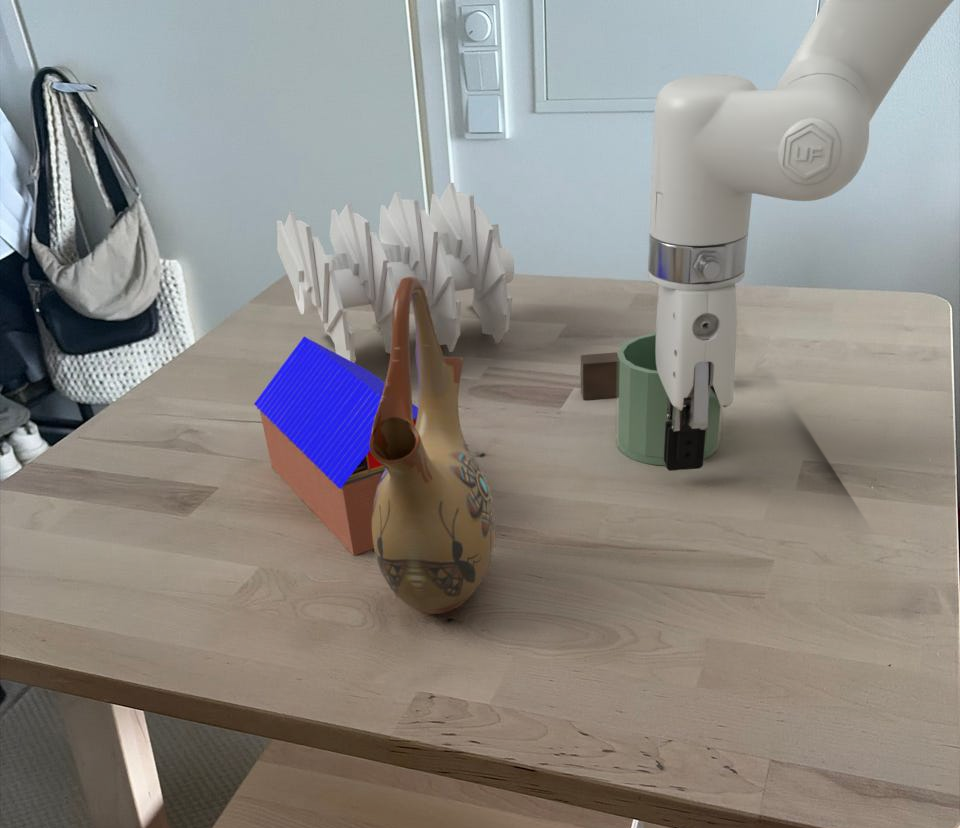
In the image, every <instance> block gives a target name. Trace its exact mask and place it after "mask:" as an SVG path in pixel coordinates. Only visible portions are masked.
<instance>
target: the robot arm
mask: <svg viewBox="0 0 960 828" xmlns="http://www.w3.org/2000/svg"><path fill="white" fill-rule="evenodd" d="M953 2H955V0H825V1H824V3H823V5H822V6H821V8H820V10H819V12H818V13H817V15H816V17H815V19H814V21H813V22H812V24H811V26H810V27H809V29H808V31H807V32H806V35H805V36H804V38H803V39H802V42H801V43H800V45H799V47H798V49H797V50H796V52H795V53H794V56H792V59H791V61H790V62H789V64H788V66H787V68H786V69H785V71H784V73H783V74H782V76H781V78H780V80H779V81H778V83H777V85H776V86H775V89H774V88H773V89H764V90H763V89H762V90H758V88H757V86H756V85H755V84H754V83H753V82H752V81H751V80H749V79H746V78H744V77H741V76H736V75H727V74H703V75H701V74H700V75H695V76H694V75H692V76H686V77H681V78H677V79H675V80H672V81H670V82H668V83H666V84H664V86H663V87H662V88H661V89H660V90H659V92H658V93H657V96H656V99H655V102H654V109H653V111H654V112H653V126H652V127H653V130H652V156H651V158H652V159H651V184H650V209H649V234H648V235H649V236H648V261H647V278H648V280H649V281H650V282H652V283H653V284H655V285H657V287H658V288H657V289H658V294H657V306H656V307H657V308H656V321H655V322H656V323H655V333H656V346H655V354H656V367H657V371H658V374H659V377H660V379H661V382H662V384H663V386H664V389H665V391H666V393H667V419H668V420H672V421H669V422H666V423H665V442H664V462H665V464H666V466H665V467H666V469H667V470H668V471H671V472H672V471H683V470H685V471H686V470H697V469H701V468H703V465H704V459H703V458H704V445H705V433H706V428H707V427H708V407H709V399H710V391H711V390H712V392H713V393H714V395H715V397H716V399H717V401H718V403H719V405H720V406H723V408H729V407H730V406H731V405H732V403H733V401H734V391H735V374H736V373H735V371H736V356H737V355H736V352H737V325H738V324H737V322H738V321H737V318H738V317H737V316H738V315H737V311H738V310H737V309H738V307H737V291H736V290H737V288H736V284H739V282H741V281H742V280H743V279H744V277H745V272H746V260H747V249H748V239H749V231H750V230H749V229H750V220H751V219H750V218H751V210H752V209H751V208H752V199H753V198H752V197H753V194H754V195H760V196H765V197H769V198H770V197H771V198H774V199H780V200H786V201H794V202H813V201H819V200H822V199H823V200H824V199H826V198H828V197H831V196H833V195H835V194H837V193H838V192H840V191H841V190H842V189H844V188H845V187H846V186H847V185H849V184H850V183H851V182H852V181H853V179H854V178H855V177H856V176H857V174H858V173H859V171H860V169H861V167H862V165H863V163H864V161H865V159H866V156H867V153H868V148H869V141H870V122H871V120H872V119H873V117H874V115H875V114H876V111H877V110H878V109H879V107H880V105H881V104H882V102H883V101H884V99H885V98H886V96H887V94H888V93H889V92H890V90H891V88H892V87H893V85H894V83H895V82H896V80H897V79H898V78H899V76H900V75H901V72H902V71H903V70H904V68H905V67H906V65H907V63H909V60H910V59H911V58H912V56H913V55H914V53H915V51H916V50H917V49H918V48H919V46H920V44H921V43H922V42H923V40H924V39H925V37H926V36H927V34H928V33H929V31H931V29H932V28H933V26H934V25H935V24H936V23H937V21H938V19H940V17H941V16H942V15H943V14H944V13H945V11H946V10H947V9H948V7H949V6H950V5H951V4H952V3H953Z"/></svg>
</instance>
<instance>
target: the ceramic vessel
mask: <svg viewBox="0 0 960 828" xmlns="http://www.w3.org/2000/svg"><path fill="white" fill-rule="evenodd" d="M411 306H412V312H413V317H414V324H415V350H414V351H415V352H414V359H415V363H416V370H417V380H418V381H417V382H418V403H417V404H418V405H417V407H418V414H417V420H416V425H415V426H414V422H413V412H412V404H413V396H412V378H411V377H412V376H411V356H410V355H411V354H410V314H411V313H410V312H411ZM463 365H464V358H463V357H457V356H444V354H443V350H442V347H441V345H439V342H438V339H437V336H436V331H435V329H434V325H433V321H432V317H431V312H430V308H429V304H428V300H427V296H426V292H425V289H424V286H423V284H422V283H421V281H420V280H419V279H418V278H416V277H406V278H403V279H401V281H400V283H399V286H398V288H397V291H396V294H395V297H394V302H393V310H392V342H391V353H390V354H389V362H388V368H387V373H386V377H385V381H384V383H385V386H384V390H383V393H382V397H381V400H380V403H379V407H378V410H377V413H376V416H375V419H374V422H373V426H372V432H371V437H370V442H369V447H370V451H371V453H372V455H373V456H374V458H375V459H376V460H377V461H379V462H380V463H381V464H382V465H384V466H385V467H384V468H385V470H384V472H383V474H382V476H381V478H380V481H379V484H378V486H377V490H376V493H375V498H374V503H373V510H372V538H373V545H374V549H373V550H374V555H375V558H376V561H377V564H378V567H379V569H380V572H381V575H382V576H383V578H384V580H385V582H386V583H387V585H388V587H389V588H390V590H391V591H392V592H393V594H394V595H395V596H397V598H398V599H399V600H400V601H401V602H403V603H404V604H405V605H407V606H408V607H410V608H411V609H414V610H415V611H418V612H421V613H424V614H429V615H441V614H442V615H443V614H446V613H449V612H452V611H454V610H455V609H457V608H459V607H460V606H461V605H463V604H464V603H465V602H466V601H467V600H469V599H470V597H471V596H473V594H474V593H475V592H476V590H477V589H478V587H479V586H480V584H481V583H482V581H483V579H484V577H485V576H486V573H487V571H488V569H489V566H490V563H491V559H492V555H493V551H494V546H495V538H496V537H495V536H496V513H495V512H496V511H495V505H494V500H493V496H492V492H491V488H490V485H489V483H488V479H487V478H486V475H485V473H484V471H483V469H482V467H481V466H480V465H479V463H478V461H477V460H476V458H475V457H474V455H473V454H472V452H471V451H470V449H469V446H467V445H468V444H467V443H466V441H465V438H464V435H463V431H462V427H461V421H460V415H459V390H460V383H461V378H462V377H461V376H462V372H463ZM466 444H467V445H466Z"/></svg>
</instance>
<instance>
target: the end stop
mask: <svg viewBox="0 0 960 828" xmlns="http://www.w3.org/2000/svg"><path fill="white" fill-rule="evenodd" d="M616 380H617V351H616V352H615V351H614V352H604V353H590V354H580V392H581V393H580V394H581V397H582V400H583V401H586V400H587V401H588V400H589V401H590V400H601V399H614V398H615V399H616Z"/></svg>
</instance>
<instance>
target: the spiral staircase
mask: <svg viewBox="0 0 960 828" xmlns="http://www.w3.org/2000/svg"><path fill="white" fill-rule="evenodd" d="M430 199H431V200H430V208H429V215H428V213H427V211H426V210H425V209H421V210H420V205H419V204H420V203H419V200H418V199H417V200H416V199H403V197H402V194H401V190H395V191H394V193H393V196H392V199H391V201H390V204H389V206H388V208H387V206H386V205H385V204H381V205H380V209H379V228H378V229H379V231H378V234H377V232H376V231H371V229H370V228H371V227H370V221H369V220H368V219H366V218H365V217H363V216H362V215H361V214H359V213H358V212H354V209H353V205H352V203H346V204H345V206H344V207H343V209H342V211H341V212H340V214H338V211H337V209H336V208H335V209H331V210H330V211H331V213H330V224H329V225H330V226H329V240H330V243H331V245H332V248H333V250H334V253H329V254H326V252H325V250H324V247H323V245H322V243H321V241H320V239H319V237H318V235H315V236H313V235H312V227H311V226H310V225H309V224H307V223H306V222H304V221H302V220H300V219H298V220H297V217H296V212H295V210H290V211H289V212H288V215H287V218H286V220H285V224H284V223H283V221H282V219H279V220H276V245H277V246H276V248H277V249H276V251H277V254H278V256H279V258H280V260H281V263H282V265H283V267H284V270H285V272H286V275H287V276H288V279H289V282H290V284H291V286H292V289H293V294H294V298H295V299H294V300H295V303H296V306H297V309H298V312H299V313H300V314H301V316H305V315H310V314H316V313H317V314H318V317H319V319H320V321H321V323H322V326H323V331H324V333H325V334H326V335H328V336H329V337H330V339H331V340H332V342H333V344H334V352H335V353H336V354H338V355H340V356H342V357H344V358H345V359H347V360H349V361H351V362H353V363H355V364H356V361H357V358H356V355H355V332H354V330H353V329H352V327H351V324H350V323H349V321H348V314H347V310H345V309H349V308H356V307H362V306H369V305H370V306H371V308H372V310H373V313H374V317H375V323H376V324H377V325H378V326H379V328H380V330H381V332H382V337H383V345H384V351H385V353H387V354H389V355H390V353H391V342H392V310H393V302H394V297H395V294H396V291H397V288H398V286H399V283H400V281H401V279H403V278H406V277H416V278H418V279H419V280H420V281H421V283H422V284H423V286H424V289H425V292H426V296H427V300H428V304H429V308H430V312H431V317H432V321H433V325H434V329H435V332H436V336H437V339H438V342H439V345H440V346H442V345H443V346H444V345H446V347H447V350H448V352H449V353H451V352H454V350H455V347H456V345H457V343H458V340H459V337H461V315H462V301H461V299H459V297H458V296H457V295H456V292H458V291H464V290H472V289H473V293H472V294H473V295H472V306H471V307H472V309H473V311H475V313H476V314H477V316H478V317H479V318H480V323H481V324H480V325H481V331H482V335H492V337H493V341H494V343H495V344H498V343H500V342H501V340H502V339H503V337H504V335H505V333H506V332H508V331H510V322H511V313H512V303H513V297H512V296H511V294H509V292H508V284H509V283H511V282H512V281H513V280H514V276H515V261H514V257H513V253H512V252H511V249H510V248H509V247H508V246H506V245H505V246H502V245H501V238H500V237H501V235H500V227H499V224H498V223H496V224H491V222H490V221H489V219H488V218H487V216H486V214H485V212H484V210H483V209H482V207H481V206H480V204H477V205H475V198H474V195H473V194H469V193H467V192H463V191H456V186H455V183H454V182H449V183H448V185H447V187H446V188H445V189H444V191H443V193H442V194H441V196H440V198H439V196H438V194H437V193H432V194H431V198H430Z"/></svg>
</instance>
